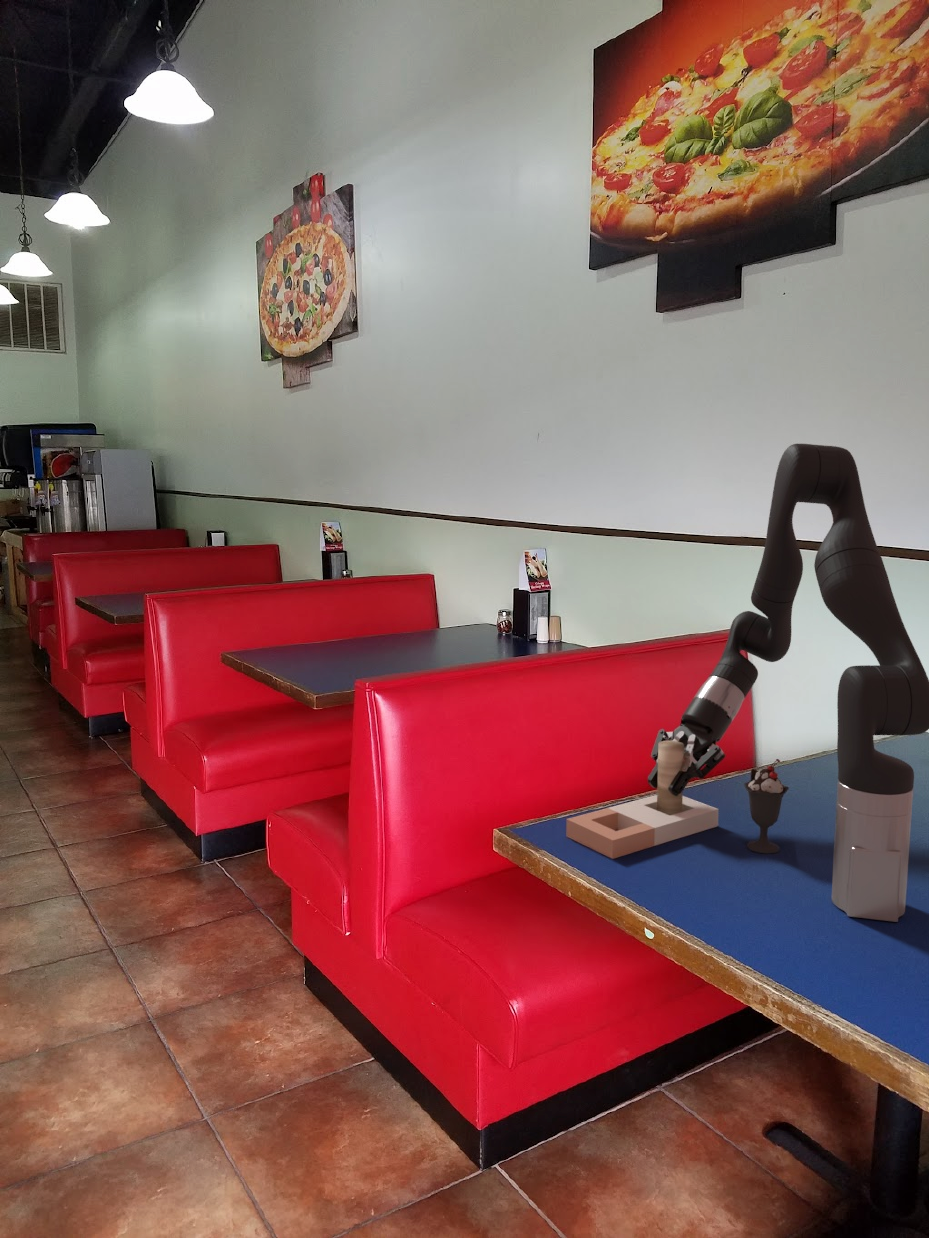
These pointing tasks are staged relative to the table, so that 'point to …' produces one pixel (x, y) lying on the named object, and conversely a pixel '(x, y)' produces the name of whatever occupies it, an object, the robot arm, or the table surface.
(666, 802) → the peg
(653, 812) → the dock board
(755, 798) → the sundae
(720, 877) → the table surface
